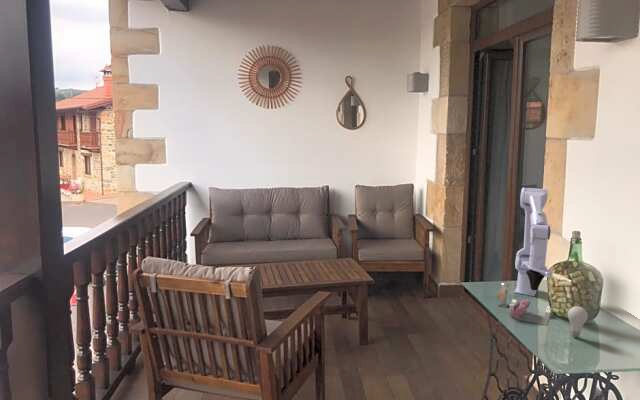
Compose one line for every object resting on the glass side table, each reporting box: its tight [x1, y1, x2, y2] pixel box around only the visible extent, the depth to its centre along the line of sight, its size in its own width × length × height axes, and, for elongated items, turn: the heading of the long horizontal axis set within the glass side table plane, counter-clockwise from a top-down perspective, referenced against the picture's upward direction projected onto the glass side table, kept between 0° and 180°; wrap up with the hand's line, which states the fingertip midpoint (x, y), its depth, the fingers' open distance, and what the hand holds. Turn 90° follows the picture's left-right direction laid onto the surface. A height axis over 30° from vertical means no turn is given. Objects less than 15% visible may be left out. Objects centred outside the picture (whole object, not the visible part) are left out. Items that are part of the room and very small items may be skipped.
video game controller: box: [509, 299, 532, 318], centre depth 195 cm, size 10×5×7 cm, turn 149°
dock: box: [498, 289, 552, 318], centre depth 201 cm, size 7×19×7 cm, turn 61°
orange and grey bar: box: [497, 281, 510, 299], centre depth 199 cm, size 13×3×2 cm, turn 154°
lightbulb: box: [567, 306, 589, 339], centre depth 177 cm, size 6×6×11 cm
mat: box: [511, 312, 550, 326], centre depth 193 cm, size 8×12×1 cm, turn 61°
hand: (534, 289), depth 200 cm, fingers closed
